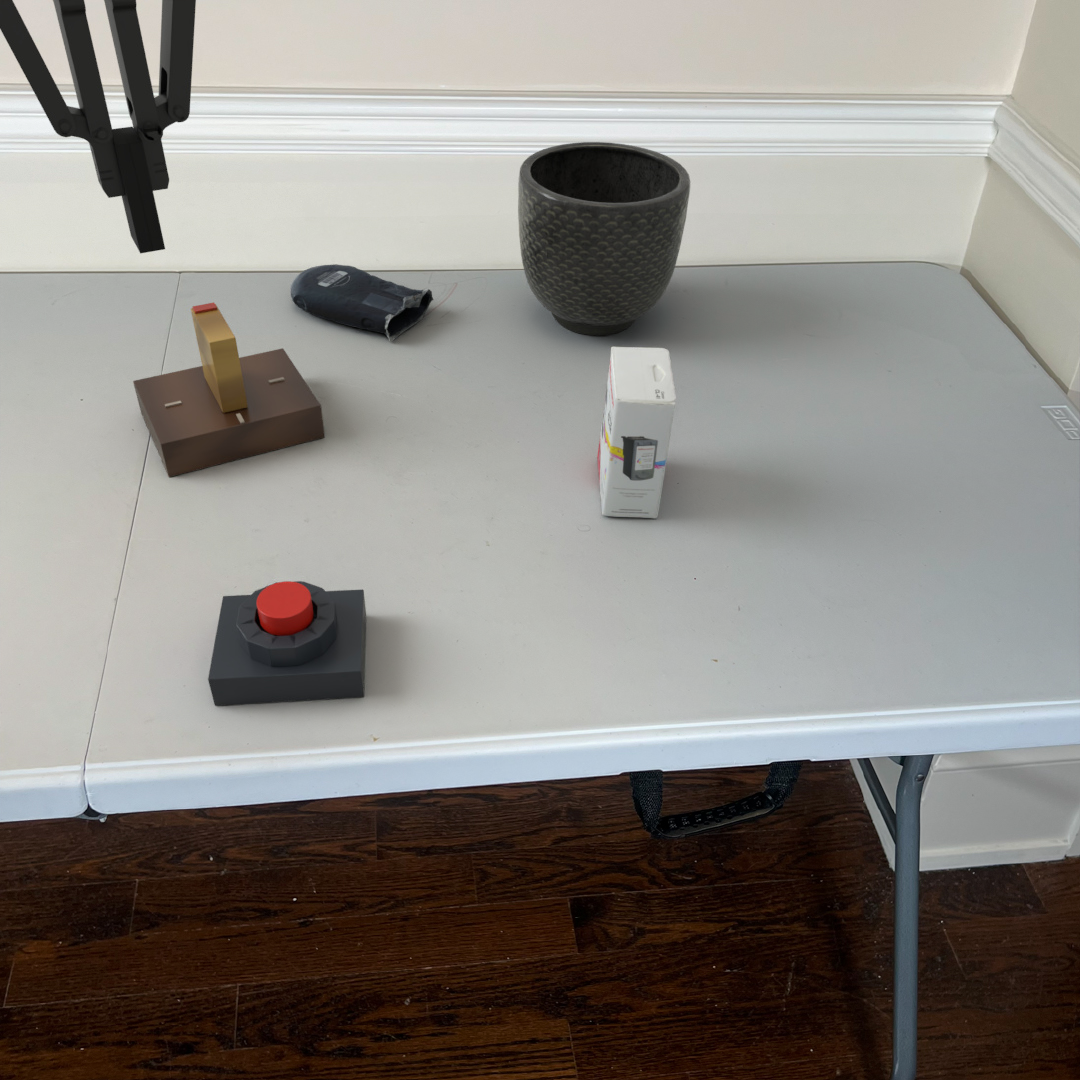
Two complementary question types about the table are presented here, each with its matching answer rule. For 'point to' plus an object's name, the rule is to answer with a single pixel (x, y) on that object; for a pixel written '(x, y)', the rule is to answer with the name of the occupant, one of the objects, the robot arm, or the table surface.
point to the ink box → (635, 431)
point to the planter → (600, 231)
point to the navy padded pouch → (359, 299)
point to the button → (285, 608)
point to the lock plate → (228, 414)
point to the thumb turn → (219, 357)
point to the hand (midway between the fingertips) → (147, 242)
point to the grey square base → (290, 652)
